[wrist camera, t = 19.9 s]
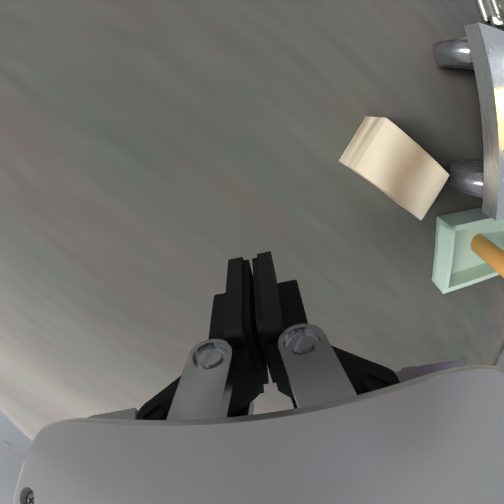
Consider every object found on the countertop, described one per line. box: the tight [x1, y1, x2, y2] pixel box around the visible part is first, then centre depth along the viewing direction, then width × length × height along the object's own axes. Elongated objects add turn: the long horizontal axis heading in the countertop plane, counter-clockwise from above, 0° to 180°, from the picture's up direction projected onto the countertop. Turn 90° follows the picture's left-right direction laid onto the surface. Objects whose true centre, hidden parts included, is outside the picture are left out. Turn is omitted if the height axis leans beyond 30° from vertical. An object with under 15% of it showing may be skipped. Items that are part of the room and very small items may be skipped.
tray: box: [432, 207, 504, 294], centre depth 26 cm, size 13×8×3 cm, turn 102°
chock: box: [339, 116, 449, 220], centre depth 22 cm, size 8×5×4 cm, turn 61°
